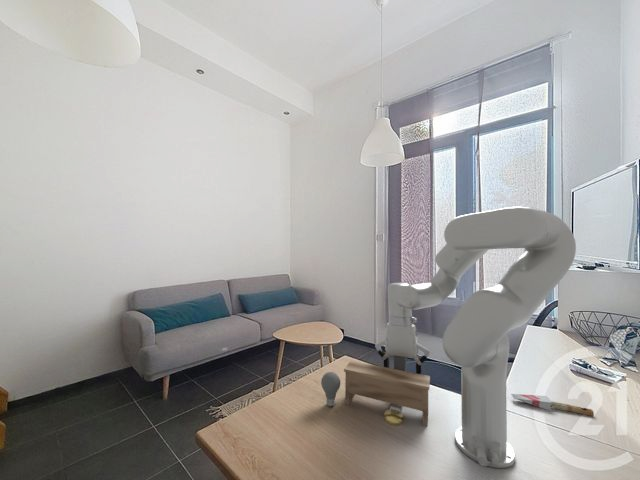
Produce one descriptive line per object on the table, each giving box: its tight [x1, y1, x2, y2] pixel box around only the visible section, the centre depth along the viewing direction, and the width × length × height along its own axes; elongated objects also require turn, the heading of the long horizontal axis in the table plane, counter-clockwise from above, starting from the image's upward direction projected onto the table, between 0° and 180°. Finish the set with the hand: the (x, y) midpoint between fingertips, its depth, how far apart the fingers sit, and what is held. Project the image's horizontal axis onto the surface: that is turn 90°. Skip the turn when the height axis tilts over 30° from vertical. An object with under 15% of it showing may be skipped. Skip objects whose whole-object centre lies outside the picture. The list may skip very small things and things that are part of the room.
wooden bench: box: [343, 360, 431, 427], centre depth 81 cm, size 7×25×11 cm, turn 65°
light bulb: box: [320, 371, 341, 407], centre depth 82 cm, size 6×6×10 cm
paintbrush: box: [510, 393, 595, 417], centre depth 82 cm, size 4×3×20 cm
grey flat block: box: [389, 356, 407, 414], centre depth 83 cm, size 12×4×14 cm, turn 155°
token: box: [383, 409, 403, 427], centre depth 75 cm, size 5×5×2 cm
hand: (402, 373), depth 86 cm, fingers open, 9 cm apart
